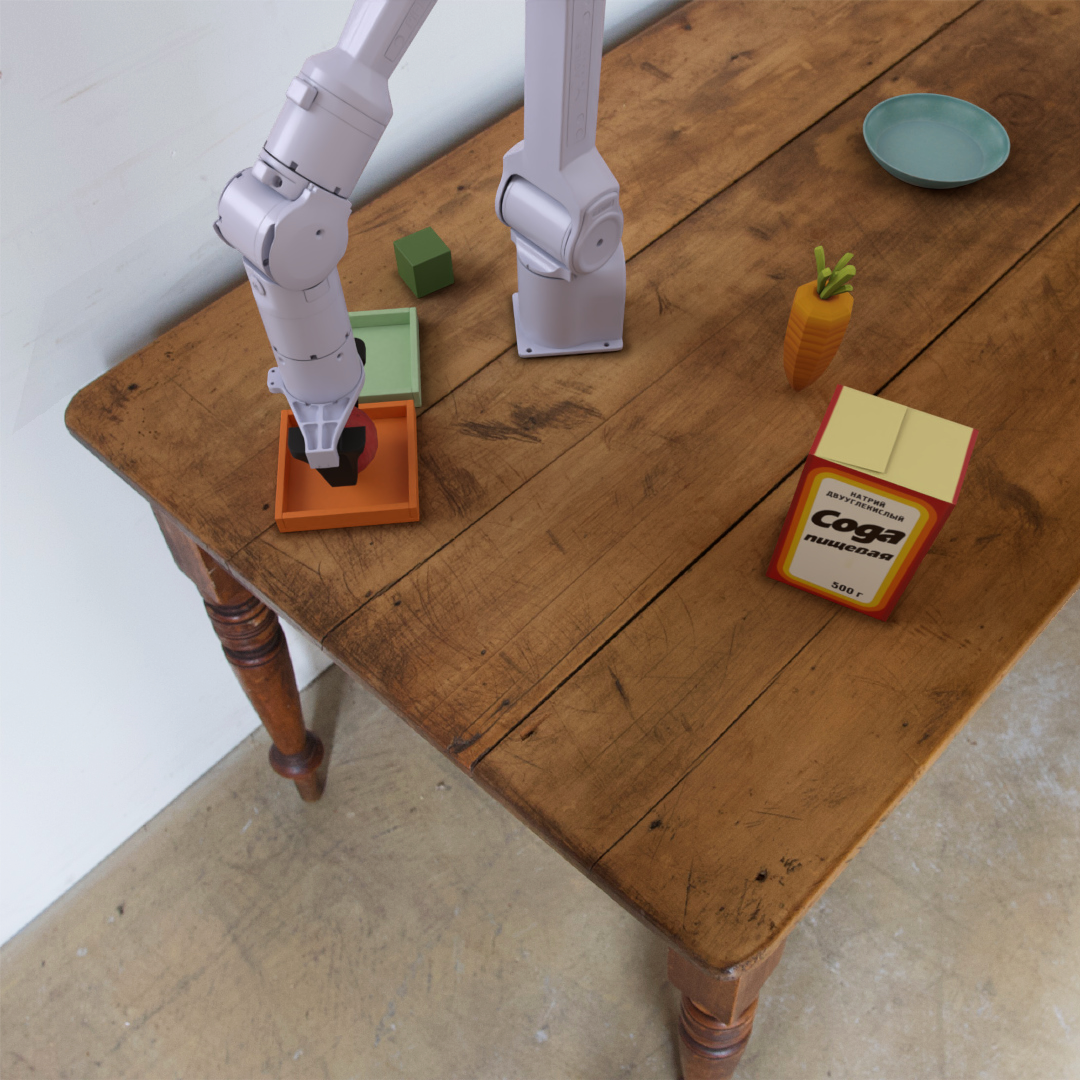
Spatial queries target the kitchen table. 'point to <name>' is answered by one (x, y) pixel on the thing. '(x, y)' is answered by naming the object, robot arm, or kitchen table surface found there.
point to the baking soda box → (870, 501)
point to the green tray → (389, 354)
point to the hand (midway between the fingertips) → (344, 450)
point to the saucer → (935, 140)
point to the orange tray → (379, 488)
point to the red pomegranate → (371, 443)
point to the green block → (424, 262)
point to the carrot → (817, 322)
